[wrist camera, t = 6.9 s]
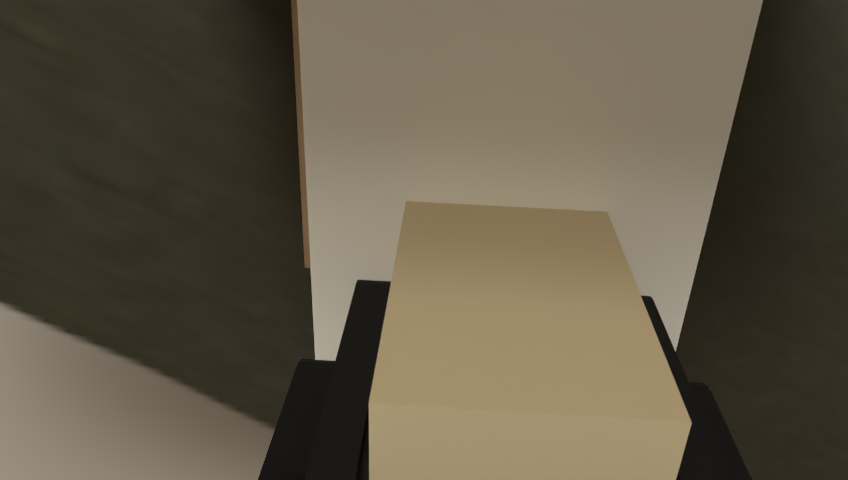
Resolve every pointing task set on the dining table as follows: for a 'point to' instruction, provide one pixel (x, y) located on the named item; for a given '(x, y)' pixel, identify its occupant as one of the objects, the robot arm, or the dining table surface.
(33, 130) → the dining table surface
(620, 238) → the beige and white blocks
